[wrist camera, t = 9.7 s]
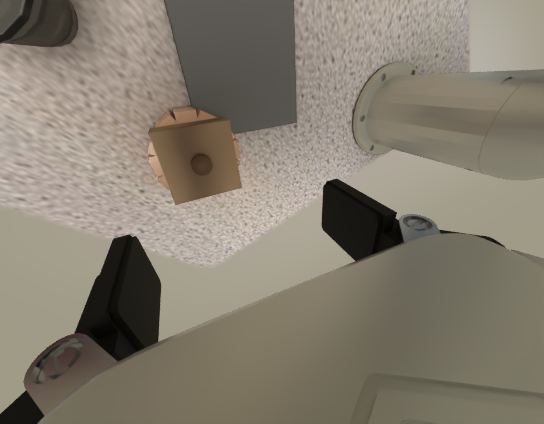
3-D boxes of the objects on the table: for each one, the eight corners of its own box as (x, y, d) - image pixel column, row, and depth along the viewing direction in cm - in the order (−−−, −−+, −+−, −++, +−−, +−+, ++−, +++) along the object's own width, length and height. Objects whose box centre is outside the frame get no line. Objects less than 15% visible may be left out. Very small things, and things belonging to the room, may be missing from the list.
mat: (288, -6, 22) (293, -9, 21) (293, 121, 28) (296, 122, 27) (162, -8, 18) (162, -12, 17) (199, 138, 25) (201, 140, 24)
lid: (223, 116, 21) (231, 120, 19) (235, 179, 24) (243, 189, 22) (149, 128, 19) (147, 134, 17) (174, 194, 23) (175, 207, 20)
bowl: (222, 102, 24) (231, 104, 21) (235, 174, 28) (245, 186, 25) (136, 113, 21) (132, 118, 18) (166, 191, 26) (167, 206, 23)
